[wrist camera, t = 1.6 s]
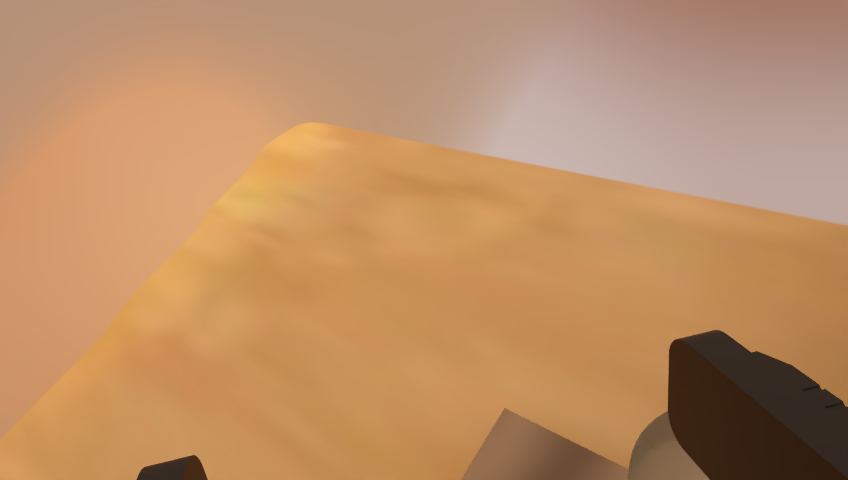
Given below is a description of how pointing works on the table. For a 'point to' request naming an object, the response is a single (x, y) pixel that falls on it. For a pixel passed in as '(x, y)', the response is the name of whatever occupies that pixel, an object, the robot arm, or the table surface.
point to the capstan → (661, 455)
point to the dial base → (536, 455)
